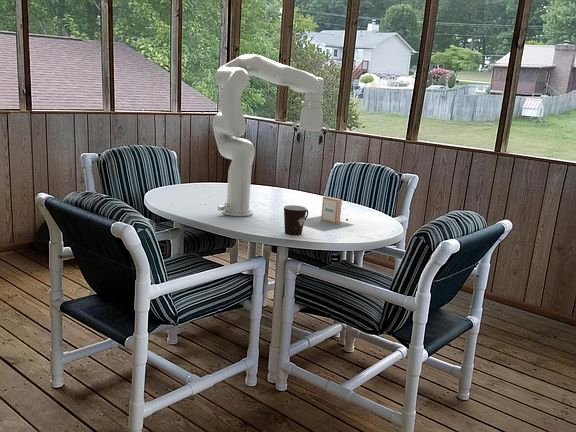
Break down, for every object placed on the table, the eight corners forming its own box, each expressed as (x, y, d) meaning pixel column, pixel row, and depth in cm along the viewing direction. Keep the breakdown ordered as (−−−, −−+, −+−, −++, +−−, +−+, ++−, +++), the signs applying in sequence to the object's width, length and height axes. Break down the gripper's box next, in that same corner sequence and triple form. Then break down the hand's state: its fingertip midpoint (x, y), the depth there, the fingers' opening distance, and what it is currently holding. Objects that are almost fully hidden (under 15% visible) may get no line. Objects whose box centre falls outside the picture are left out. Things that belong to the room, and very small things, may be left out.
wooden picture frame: (335, 224, 228) (338, 200, 226) (320, 220, 234) (323, 196, 231) (339, 223, 230) (342, 199, 228) (324, 219, 236) (326, 196, 233)
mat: (323, 232, 215) (323, 231, 215) (289, 222, 227) (289, 221, 227) (354, 226, 230) (354, 224, 230) (321, 217, 242) (321, 215, 242)
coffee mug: (287, 236, 205) (289, 210, 203) (278, 230, 213) (280, 205, 211) (315, 235, 210) (317, 209, 208) (305, 229, 218) (307, 204, 215)
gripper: (292, 103, 248) (289, 141, 252) (331, 107, 245) (327, 145, 249) (295, 103, 255) (291, 140, 259) (332, 107, 253) (328, 144, 256)
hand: (309, 143), depth 254 cm, fingers open, 9 cm apart
